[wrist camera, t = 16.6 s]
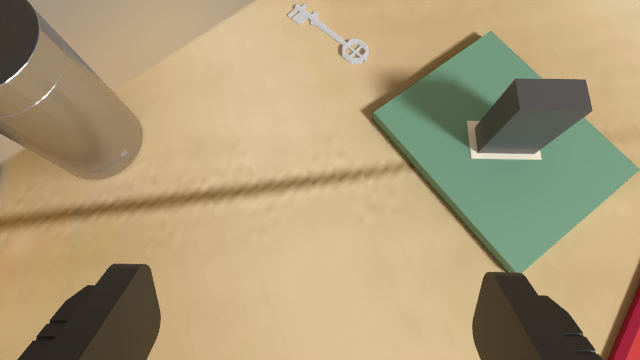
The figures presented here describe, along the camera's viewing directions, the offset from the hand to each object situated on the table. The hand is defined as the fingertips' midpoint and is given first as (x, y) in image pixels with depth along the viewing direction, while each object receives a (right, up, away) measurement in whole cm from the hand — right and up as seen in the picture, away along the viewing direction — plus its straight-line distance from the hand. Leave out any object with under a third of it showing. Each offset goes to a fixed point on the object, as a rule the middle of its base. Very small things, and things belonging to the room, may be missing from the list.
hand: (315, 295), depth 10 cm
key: (+1, +21, +40) cm, 45 cm away
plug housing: (+20, +7, +33) cm, 39 cm away
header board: (+20, +7, +34) cm, 40 cm away
